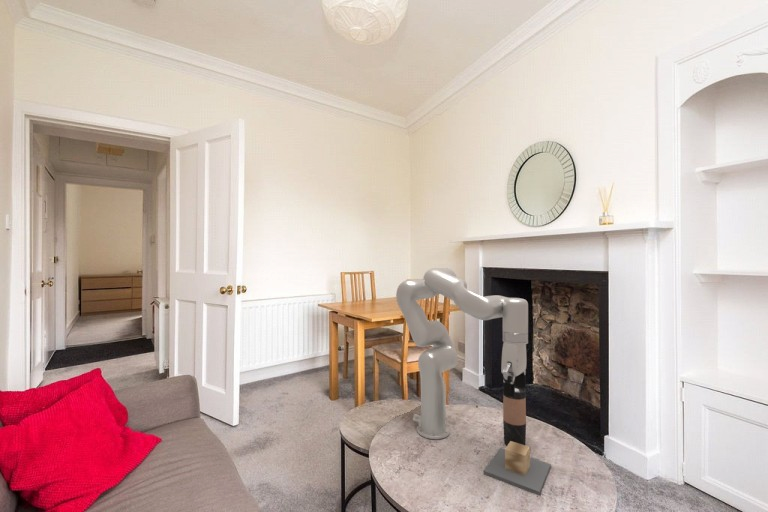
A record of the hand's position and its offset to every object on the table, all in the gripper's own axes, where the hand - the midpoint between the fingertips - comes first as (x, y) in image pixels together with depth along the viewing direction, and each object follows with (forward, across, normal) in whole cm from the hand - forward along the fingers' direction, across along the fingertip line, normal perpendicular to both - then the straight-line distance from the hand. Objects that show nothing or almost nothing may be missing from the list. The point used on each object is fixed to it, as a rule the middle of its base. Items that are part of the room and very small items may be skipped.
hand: (514, 391), depth 106 cm
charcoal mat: (+24, 0, +1) cm, 25 cm away
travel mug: (+25, -14, -5) cm, 29 cm away
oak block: (+24, 0, +1) cm, 24 cm away
